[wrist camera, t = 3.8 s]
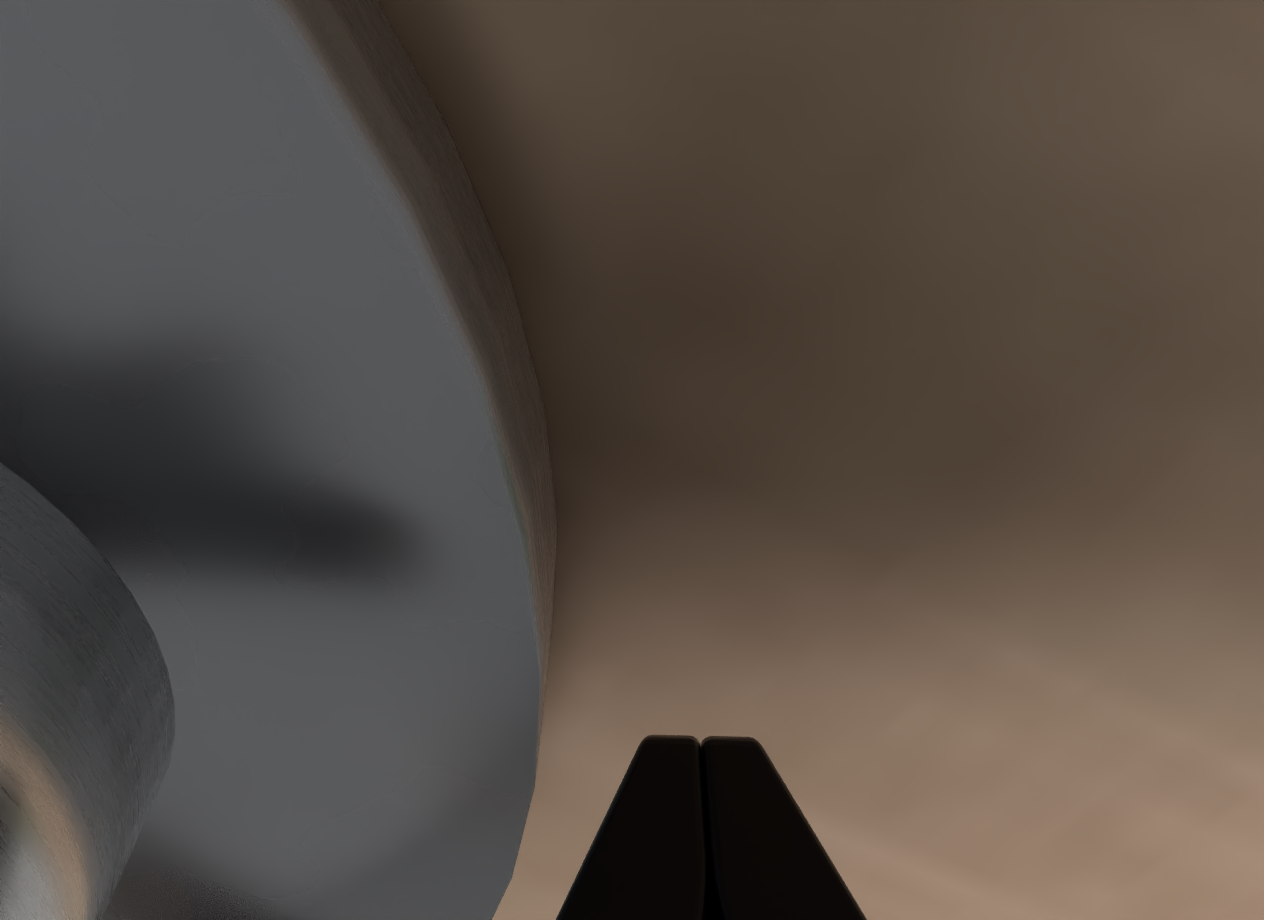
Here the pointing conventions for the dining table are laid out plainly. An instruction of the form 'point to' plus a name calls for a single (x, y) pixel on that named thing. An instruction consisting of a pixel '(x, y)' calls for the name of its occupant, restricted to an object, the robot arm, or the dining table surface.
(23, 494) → the cover
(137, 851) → the turntable
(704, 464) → the dining table surface
